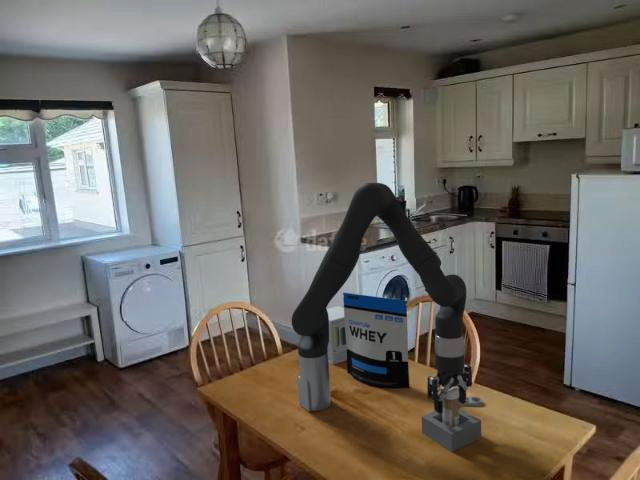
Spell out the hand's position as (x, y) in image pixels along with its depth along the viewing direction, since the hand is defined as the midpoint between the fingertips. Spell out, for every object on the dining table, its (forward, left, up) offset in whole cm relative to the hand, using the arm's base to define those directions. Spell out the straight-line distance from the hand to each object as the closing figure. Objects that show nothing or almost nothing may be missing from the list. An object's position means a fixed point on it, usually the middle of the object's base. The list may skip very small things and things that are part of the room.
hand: (450, 407), depth 130 cm
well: (0, 0, -8) cm, 8 cm away
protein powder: (+5, +38, -8) cm, 40 cm away
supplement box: (+6, +65, -9) cm, 66 cm away
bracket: (+15, +12, -9) cm, 21 cm away
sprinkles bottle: (0, 0, -8) cm, 8 cm away
